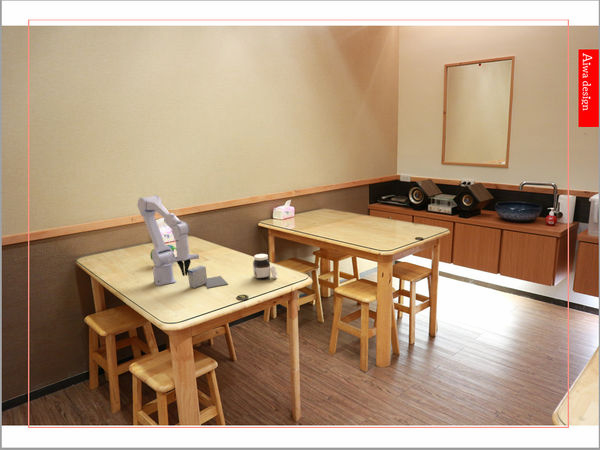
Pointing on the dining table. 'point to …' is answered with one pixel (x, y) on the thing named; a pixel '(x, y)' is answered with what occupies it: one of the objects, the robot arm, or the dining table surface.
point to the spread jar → (263, 267)
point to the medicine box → (197, 276)
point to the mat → (215, 282)
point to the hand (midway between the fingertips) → (185, 275)
